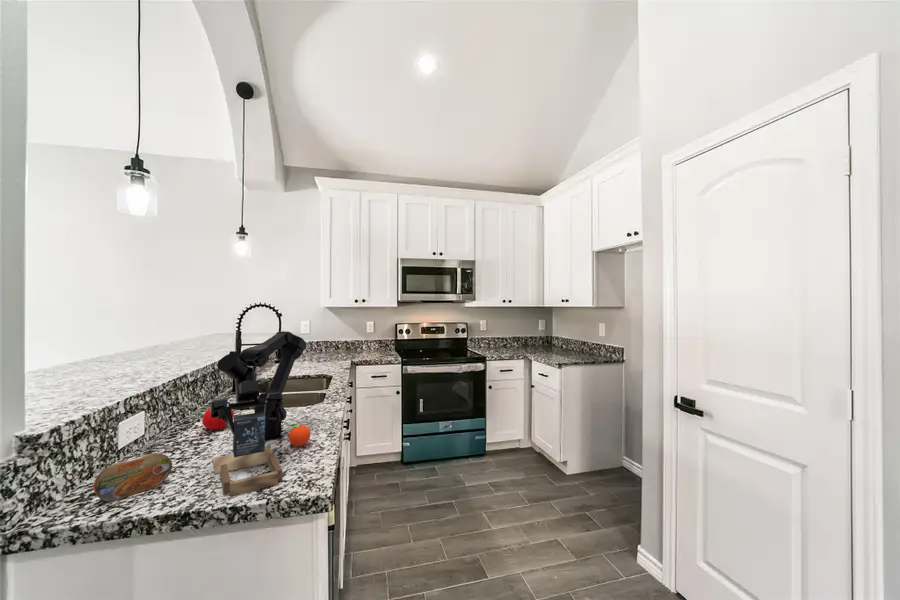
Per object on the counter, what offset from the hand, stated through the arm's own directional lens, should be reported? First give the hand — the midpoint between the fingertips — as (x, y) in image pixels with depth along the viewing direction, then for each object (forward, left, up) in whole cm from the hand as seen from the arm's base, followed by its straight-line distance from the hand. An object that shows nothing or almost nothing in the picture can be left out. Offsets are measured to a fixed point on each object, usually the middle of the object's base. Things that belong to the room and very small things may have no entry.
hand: (249, 430), depth 104 cm
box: (0, -1, -7) cm, 7 cm away
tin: (+25, -1, -11) cm, 28 cm away
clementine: (-16, -10, -11) cm, 22 cm away
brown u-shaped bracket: (0, +7, -11) cm, 13 cm away
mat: (0, -7, -11) cm, 13 cm away
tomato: (+5, -44, -11) cm, 46 cm away
